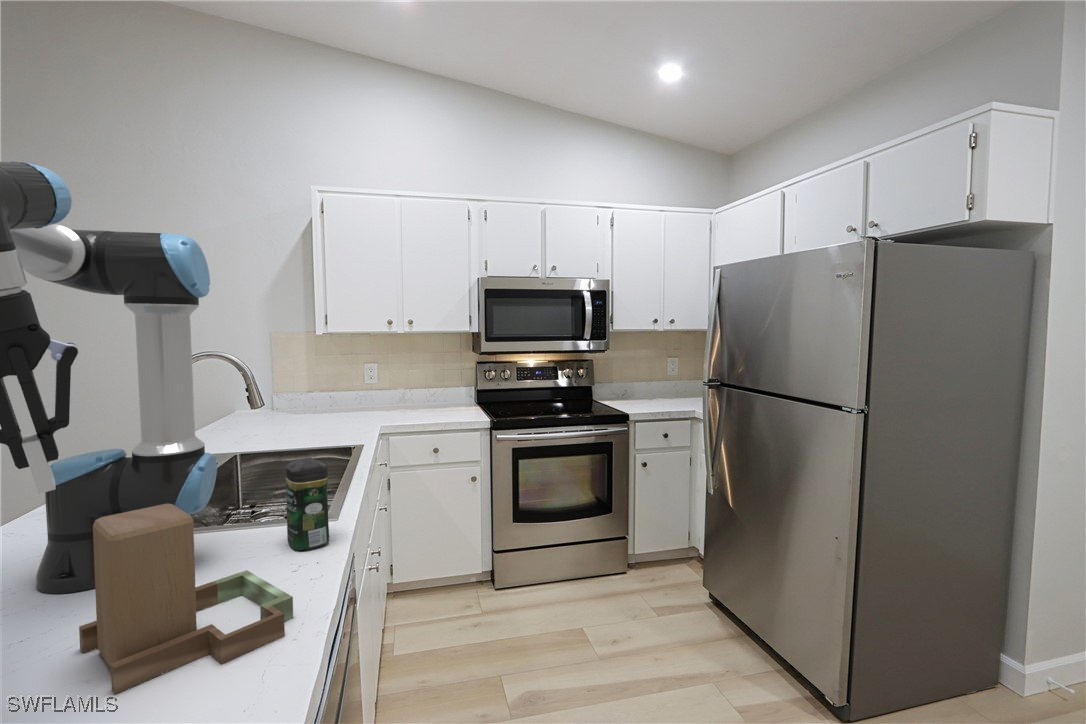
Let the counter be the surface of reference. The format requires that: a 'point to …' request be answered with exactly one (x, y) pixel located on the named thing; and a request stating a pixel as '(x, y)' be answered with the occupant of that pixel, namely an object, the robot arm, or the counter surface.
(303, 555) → the counter surface
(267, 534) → the counter surface
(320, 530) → the coffee jar
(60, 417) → the robot arm
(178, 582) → the block
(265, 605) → the trap lane
